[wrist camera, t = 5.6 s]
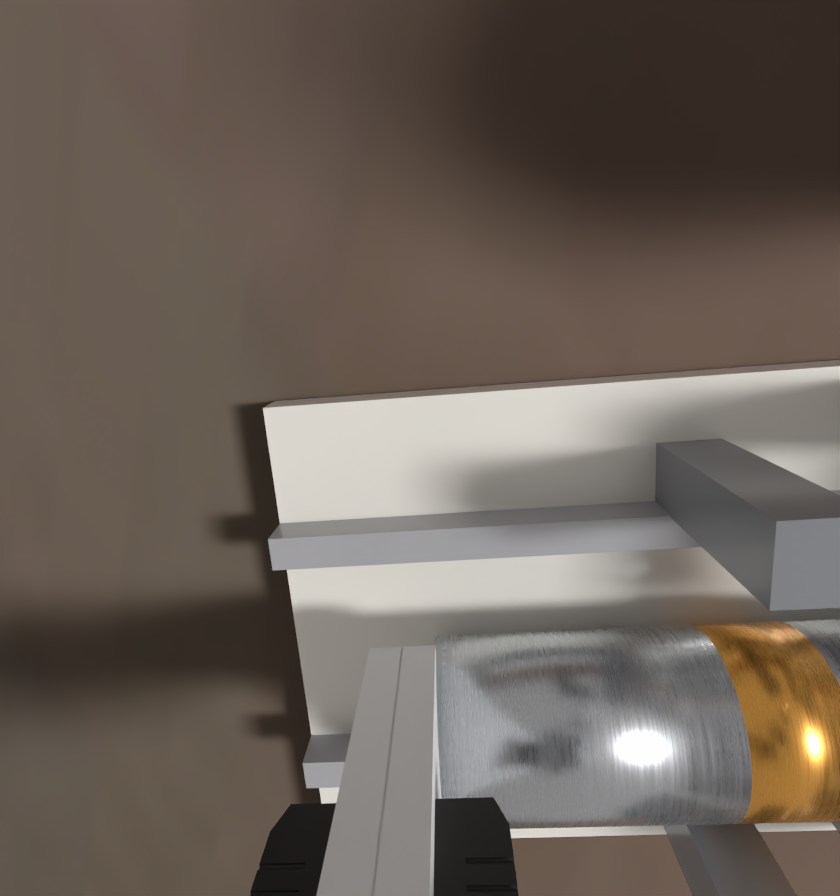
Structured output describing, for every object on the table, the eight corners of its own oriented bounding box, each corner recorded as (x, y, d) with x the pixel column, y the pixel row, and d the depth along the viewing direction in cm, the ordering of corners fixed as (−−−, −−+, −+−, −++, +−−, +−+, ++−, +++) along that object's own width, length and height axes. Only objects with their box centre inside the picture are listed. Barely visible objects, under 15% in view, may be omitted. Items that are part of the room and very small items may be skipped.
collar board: (274, 401, 15) (125, 485, 8) (1295, 326, 13) (2210, 349, 6) (333, 813, 18) (264, 1129, 11) (1162, 789, 16) (1678, 1139, 9)
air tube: (443, 681, 16) (447, 852, 13) (433, 603, 13) (436, 796, 10) (965, 661, 15) (1098, 839, 12) (1067, 574, 12) (1267, 774, 10)
